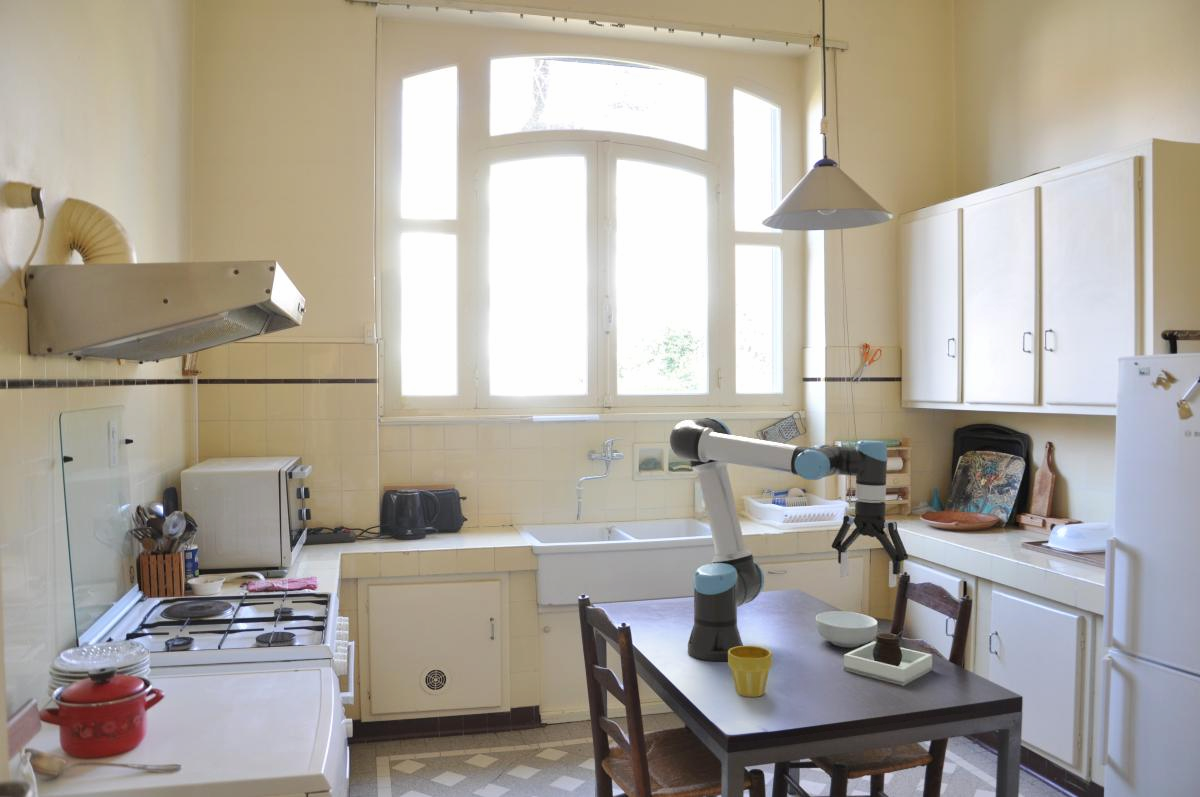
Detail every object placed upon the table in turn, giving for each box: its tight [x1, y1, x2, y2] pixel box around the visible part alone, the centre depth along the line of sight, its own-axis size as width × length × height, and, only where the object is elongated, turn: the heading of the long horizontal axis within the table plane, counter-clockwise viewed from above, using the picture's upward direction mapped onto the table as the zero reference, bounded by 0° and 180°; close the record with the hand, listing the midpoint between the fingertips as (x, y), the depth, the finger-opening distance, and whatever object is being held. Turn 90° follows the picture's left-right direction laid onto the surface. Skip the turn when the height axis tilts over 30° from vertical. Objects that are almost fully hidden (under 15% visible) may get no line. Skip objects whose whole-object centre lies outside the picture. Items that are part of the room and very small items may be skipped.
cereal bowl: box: [815, 610, 878, 648], centre depth 242 cm, size 17×17×7 cm
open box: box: [843, 640, 933, 687], centre depth 219 cm, size 16×16×4 cm
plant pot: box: [727, 645, 773, 698], centre depth 204 cm, size 10×10×10 cm
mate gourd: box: [873, 629, 905, 667], centre depth 219 cm, size 7×8×10 cm
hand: (867, 581), depth 222 cm, fingers open, 13 cm apart
